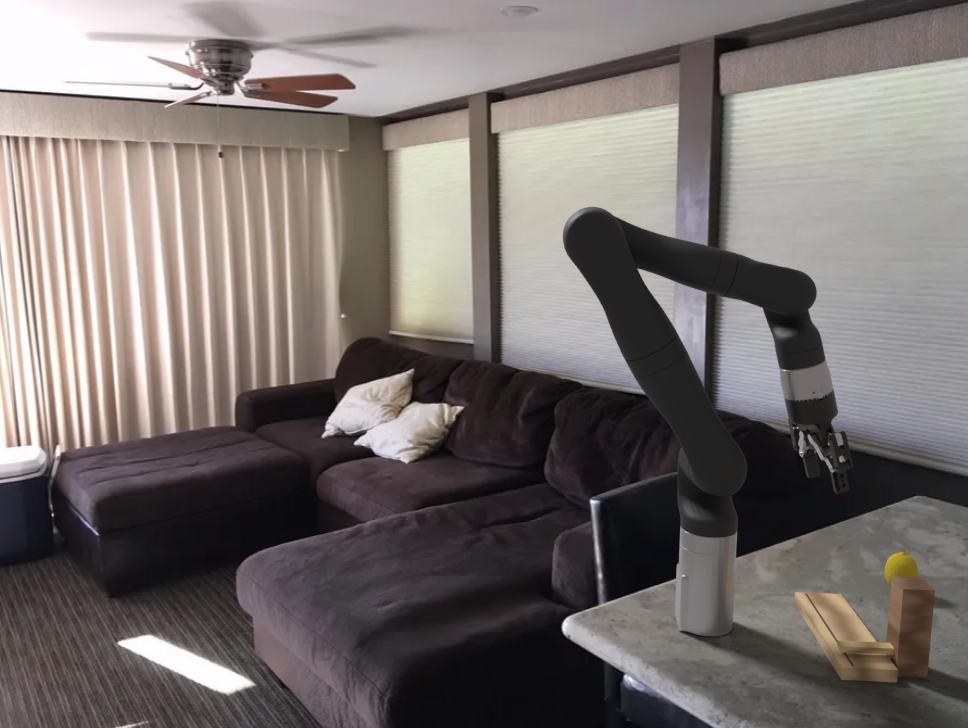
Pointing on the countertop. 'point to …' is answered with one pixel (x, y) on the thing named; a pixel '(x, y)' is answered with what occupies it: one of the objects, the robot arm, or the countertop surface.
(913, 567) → the lemon
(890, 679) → the board
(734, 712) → the countertop surface
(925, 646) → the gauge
